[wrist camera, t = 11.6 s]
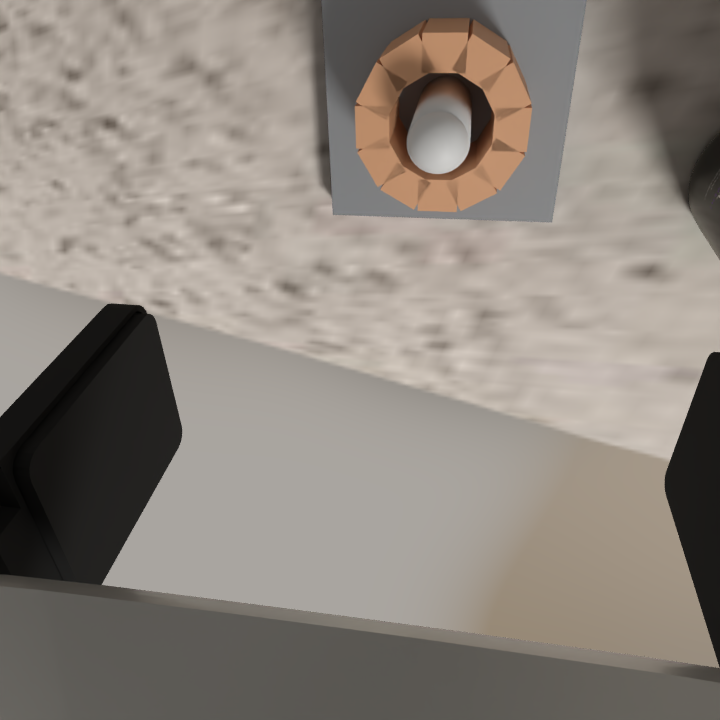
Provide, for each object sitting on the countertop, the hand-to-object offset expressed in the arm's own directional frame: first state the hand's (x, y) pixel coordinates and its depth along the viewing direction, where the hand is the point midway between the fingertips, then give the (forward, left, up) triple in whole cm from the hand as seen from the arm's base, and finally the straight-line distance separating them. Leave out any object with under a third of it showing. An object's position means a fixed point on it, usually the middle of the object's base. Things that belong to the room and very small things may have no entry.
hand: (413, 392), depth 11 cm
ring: (0, 0, -22) cm, 22 cm away
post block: (0, 0, -23) cm, 23 cm away
